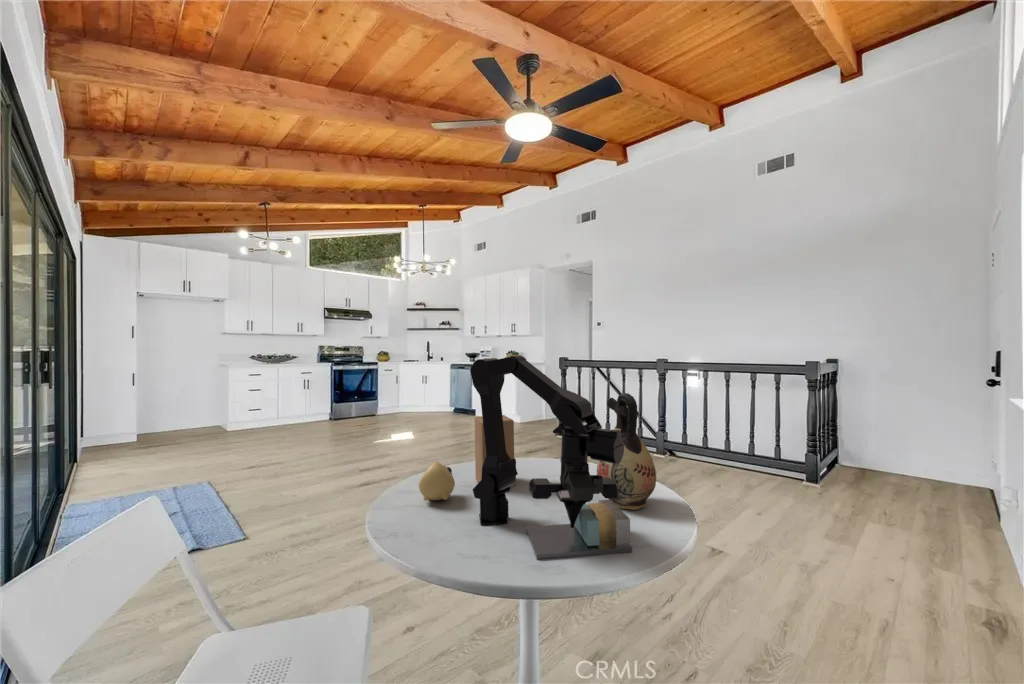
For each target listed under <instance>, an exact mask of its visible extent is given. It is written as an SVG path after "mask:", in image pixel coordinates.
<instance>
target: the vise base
mask: <svg viewBox="0 0 1024 684" xmlns="http://www.w3.org/2000/svg"><path fill="white" fill-rule="evenodd" d="M597 503H603V504H604V505H605V506H606V507H607V508H608V509H609V510H610V511H611V524H612V540H609V541H599V545H595V546H587V544H586V542H585V541H584V539H583V538H582V536H581V535H580V533H579V532H578V530H577V529H576V527H575V525H574V528H571V527H570V523H563V524H551V525H548V524H547V525H537V526H536V525H535V526H526V527H525V532H526V534H527V537H528V539H529V542H530V545H531V549H532V551H533V553H534V556H535V558H536V560H537V561H538V560H548V559H563V558H575V557H576V558H577V557H588V556H589V557H590V556H605V555H616V554H625V553H626V554H627V553H633V547H632V545H631V519H630V518H629V516H628V515H627V514H626V513H625V512H624V511H623V509H621V508H619V507H618V506H617V505H616V504H615V503H614V502H613V501H612V500H609V499H599V500H598V502H597Z"/></svg>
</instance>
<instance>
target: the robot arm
mask: <svg viewBox="0 0 1024 684" xmlns="http://www.w3.org/2000/svg"><path fill="white" fill-rule="evenodd" d="M469 369H470V371H469V372H470V373H469V374H470V376H471V382H472V385H473V387H474V388H475V390H476V392H477V393H478V396H480V397H479V398H480V405H481V417H482V418H483V428H484V437H485V447H486V457H485V460H484V463H483V466H482V478H481V481H480V482H479V483H478V482H477V484H476V485H475V486H474V487H473V488H472V493H473V497H474V498H475V499H478V500H479V514H478V517H479V523H480V525H481V526H486V525H501V524H503V525H505V524H508V519H509V515H510V514H509V501H508V500H509V499H508V498H507V495H506V493H509V492H510V491H511V489H512V487H513V486H512V485H513V483H514V482H516V480H517V476H518V475H519V474H518V471H517V461H516V458H515V457H514V458H513V459H510V457H509V456H508V454H507V452H506V445H505V436H504V427H503V417H502V415H503V409H502V400H501V392H502V389H503V385H504V384H505V376H506V375H510V374H512V375H513V376H514V377H515V378H517V379H518V380H519V381H520V382H522V383H523V384H524V385H525V386H526V387H528V388H529V389H530V390H531V391H533V392H534V393H535V394H536V395H538V397H540V398H541V399H542V400H543V401H545V402H546V404H547V405H548V406H549V408H550V410H551V412H552V414H553V415H554V416H555V418H557V420H558V421H559V422H560V423H559V425H558V426H557V427H556V428H554V429H553V430H552V433H553V434H555V435H556V434H557V435H561V448H560V449H561V450H560V451H561V453H560V454H561V456H560V475H559V481H560V483H559V482H558V483H555V482H554V483H553V482H552V483H551V482H550V481H549V479H548V478H541V477H540V478H532V479H530V481H529V484H528V485H529V486H528V487H529V488H528V489H529V493H530V495H531V498H532V499H536V500H547V499H549V498H550V497H552V495H553V494H552V493H555V496H556V497H557V498H558V500H559V501H560V502H561V503H563V505H564V507H565V511H566V514H567V517H568V520H569V524H570V527H571V528H574V524H575V522H576V519H577V517H578V514H579V512H580V510H581V508H582V506H583V505H584V504H585V503H586V504H587V503H590V502H591V501H593V500H594V495H599V494H601V495H602V497H604V499H608V498H618V497H619V489H618V486H617V485H616V484H615V483H614V482H613V481H612V480H611V479H610V478H602V476H601V475H597V474H590V469H589V468H590V467H589V465H590V464H589V463H588V461H589V460H588V458H590V459H591V460H594V461H597V462H598V461H604V462H609V463H615V464H619V463H620V462H621V460H622V458H623V454H624V444H623V440H622V437H621V436H620V430H614V429H606V428H603V426H602V425H601V423H600V422H599V421H600V420H598V418H597V417H596V414H595V413H594V411H593V408H592V407H593V405H592V403H591V402H590V400H588V399H587V398H585V397H584V396H581V395H579V394H578V393H576V392H573V391H570V390H568V389H566V388H563V387H561V386H560V385H558V384H557V383H556V382H555V381H554V380H552V379H551V378H550V377H548V376H547V375H546V374H545V373H543V372H542V371H541V370H539V369H538V368H537V367H536V366H534V365H533V364H532V363H531V362H529V361H528V360H527V358H526V357H525V356H523V355H522V354H521V355H520V354H519V355H508V356H507V357H504V358H497V357H495V358H494V357H491V358H479V359H476V360H475V361H473V363H472V364H471V366H470V368H469Z"/></svg>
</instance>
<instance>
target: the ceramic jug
mask: <svg viewBox="0 0 1024 684" xmlns="http://www.w3.org/2000/svg"><path fill="white" fill-rule="evenodd" d="M606 406H607V408H609V409H610V410H612V411H614V413H615V415H616V424H615V427H614V428H613V430H620V436H621V437H622V440H623V444H624V454H623V458H622V460H621V462H620V463H619V464H615V463H609V462H604V461H598V460H597V466H596V475H601V476H602V478H610V479H611V480H612V481H613V482H614V483H615V484H616V485H617V486H618V489H619V497H618V498H607V500H612V501H613V502H614V503H615V504H616V505H617V506H618V507H619V508H620V509H621V508H622V509H621V510H628V509H629V510H631V511H637V510H640V509H642V508H644V507H646V505H647V500H648V498H649V497H650V496H651V495H652V494H653V492H654V490H655V488H656V484H657V471H656V467H655V463H654V460H653V457H652V455H651V453H650V450H648V448H647V446H646V445H645V443H644V441H643V440H642V439H641V438H640V437H639V435H638V433H637V426H638V424H637V423H638V412H639V411H638V405H637V400H636V399H635V397H634V396H633V395H632V394H630V393H628V392H624V393H621V394H619V395H618V397H617V399H615V398H614V397H609V399H608V400H607V402H606Z"/></svg>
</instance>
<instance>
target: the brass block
mask: <svg viewBox="0 0 1024 684" xmlns="http://www.w3.org/2000/svg"><path fill="white" fill-rule="evenodd" d="M587 506H588V507H589V508H590V510H591V511H592V512H593V513H594V515H595V516H596V517H597V518H598V520H599V541H609V540H612V524H611V511H610V510H609V509H608V508H607V507H606V506H605V505H604V504H603V503H598V502H594V503H593V502H591V503H590V502H588V503H587Z"/></svg>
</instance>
